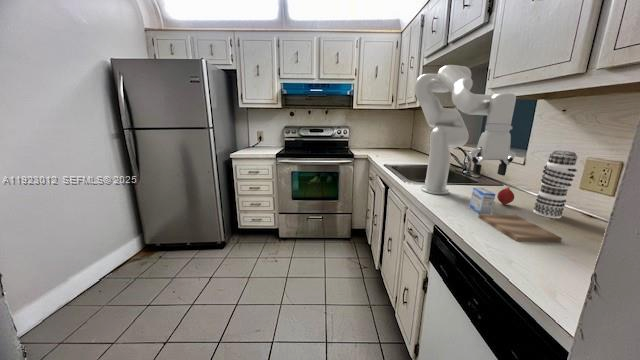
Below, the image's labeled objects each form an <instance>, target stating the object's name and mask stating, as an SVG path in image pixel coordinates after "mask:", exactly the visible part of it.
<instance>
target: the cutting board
mask: <svg viewBox="0 0 640 360" xmlns="http://www.w3.org/2000/svg"><path fill="white" fill-rule="evenodd" d="M478 218H479V220H481V221H482V222H483V221H484V222H485V223H486V224H488V225H489V226H491V227H493V228H494V229H496V230H497V231H499V232H501V233H502V234H504V235H505V236H507V237H508V238H509V239H511V240H513V241H515V242H520V243H521V242H524V243H525V242H527V243H528V242H529V243H541V242H542V243H561V242H562V239H563V237H561V236H559V235H557V234H556V233H553V232H551V231H549V230H547V229H546V228H543V227H541V226H539V225H537V224H535V223H533V222H531V221H529V220H527V219H526V218H523V217H522V216H519V215H517V214H509V213H508V214H507V213H505V214H504V213H503V214H499V213H497V214H496V213H495V214H493V213H491V214H479V213H478Z"/></svg>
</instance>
